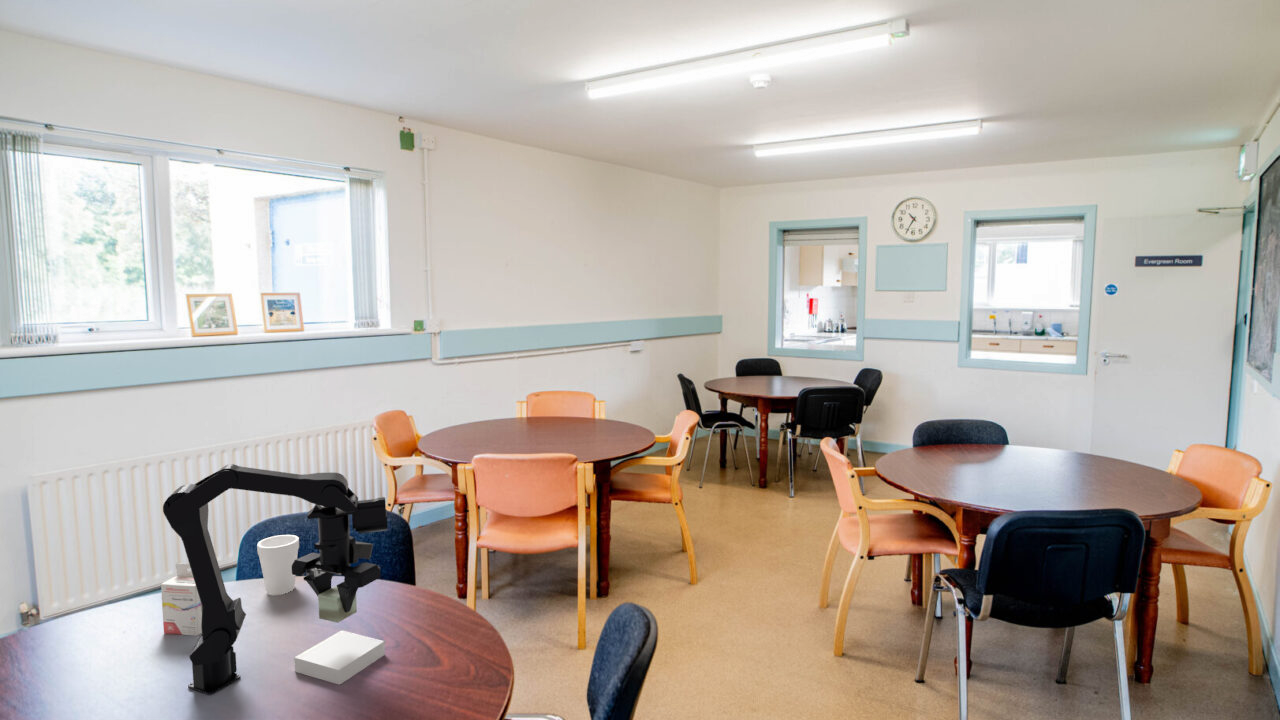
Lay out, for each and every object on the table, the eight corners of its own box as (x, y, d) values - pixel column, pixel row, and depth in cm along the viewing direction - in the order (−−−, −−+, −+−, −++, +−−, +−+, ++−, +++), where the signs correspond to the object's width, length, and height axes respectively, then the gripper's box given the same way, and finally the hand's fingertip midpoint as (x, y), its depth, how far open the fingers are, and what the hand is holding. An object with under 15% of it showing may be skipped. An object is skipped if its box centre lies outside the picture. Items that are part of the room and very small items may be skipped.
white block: (339, 684, 130) (338, 670, 130) (295, 671, 135) (294, 657, 135) (384, 654, 141) (384, 641, 141) (342, 643, 146) (341, 630, 146)
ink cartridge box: (162, 634, 150) (158, 571, 149) (179, 623, 155) (175, 562, 154) (197, 636, 149) (193, 572, 148) (214, 625, 154) (210, 563, 153)
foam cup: (288, 598, 168) (285, 548, 167) (252, 598, 168) (249, 547, 167) (308, 582, 177) (305, 534, 176) (273, 582, 178) (271, 534, 176)
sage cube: (337, 622, 135) (336, 598, 135) (319, 618, 137) (318, 594, 137) (356, 612, 140) (355, 588, 139) (338, 607, 142) (337, 585, 141)
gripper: (398, 529, 141) (401, 600, 142) (331, 518, 148) (334, 586, 149) (358, 547, 130) (361, 624, 132) (287, 535, 137) (291, 608, 139)
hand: (337, 609), depth 138 cm, fingers closed on sage cube, 5 cm apart
